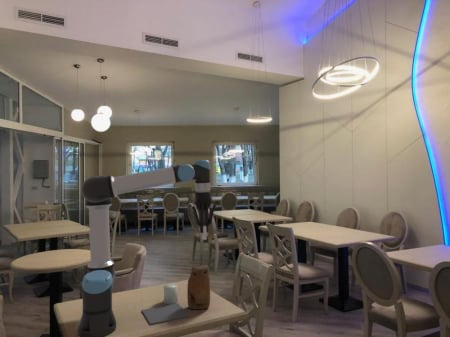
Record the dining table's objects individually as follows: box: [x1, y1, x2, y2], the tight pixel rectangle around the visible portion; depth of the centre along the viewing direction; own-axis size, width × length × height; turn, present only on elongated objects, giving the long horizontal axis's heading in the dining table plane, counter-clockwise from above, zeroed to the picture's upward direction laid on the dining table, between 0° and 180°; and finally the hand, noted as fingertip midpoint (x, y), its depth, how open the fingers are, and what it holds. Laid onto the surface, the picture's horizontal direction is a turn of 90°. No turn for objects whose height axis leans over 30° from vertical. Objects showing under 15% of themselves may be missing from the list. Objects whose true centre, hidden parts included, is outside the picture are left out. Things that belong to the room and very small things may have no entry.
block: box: [186, 264, 211, 310], centre depth 166 cm, size 11×8×20 cm
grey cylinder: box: [163, 283, 179, 305], centre depth 173 cm, size 7×7×8 cm
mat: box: [141, 302, 190, 326], centre depth 158 cm, size 18×16×1 cm
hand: (204, 239), depth 167 cm, fingers closed
